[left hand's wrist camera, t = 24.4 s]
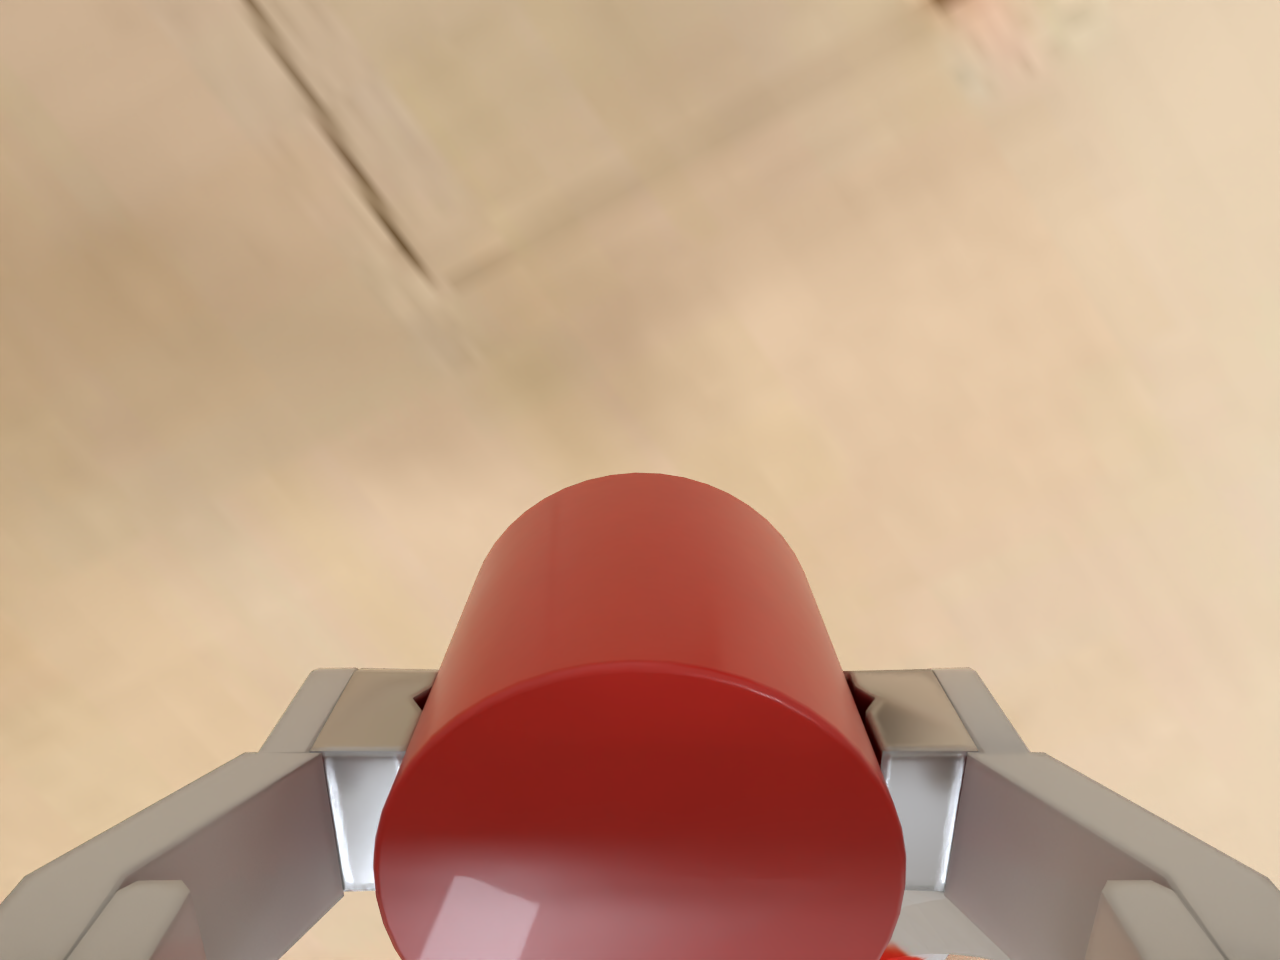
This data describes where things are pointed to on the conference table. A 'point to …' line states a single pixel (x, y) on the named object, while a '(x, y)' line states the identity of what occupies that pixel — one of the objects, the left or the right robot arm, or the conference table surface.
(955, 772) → the left robot arm
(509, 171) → the conference table surface
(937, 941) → the fish
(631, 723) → the canister
